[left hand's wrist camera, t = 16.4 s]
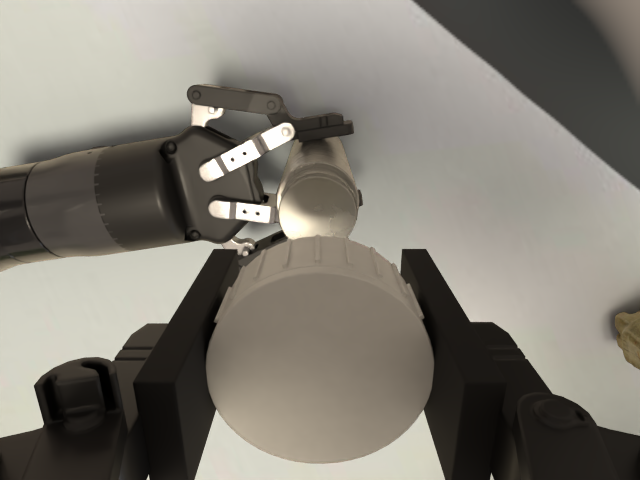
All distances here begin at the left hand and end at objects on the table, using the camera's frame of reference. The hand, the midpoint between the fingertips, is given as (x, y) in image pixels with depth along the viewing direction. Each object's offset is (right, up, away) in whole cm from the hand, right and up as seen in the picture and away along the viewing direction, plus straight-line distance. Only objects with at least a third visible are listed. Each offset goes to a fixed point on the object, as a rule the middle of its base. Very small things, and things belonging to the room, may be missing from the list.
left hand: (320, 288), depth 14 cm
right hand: (+2, +7, +16) cm, 18 cm away
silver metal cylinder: (0, +9, +22) cm, 24 cm away
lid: (0, -1, -4) cm, 4 cm away
